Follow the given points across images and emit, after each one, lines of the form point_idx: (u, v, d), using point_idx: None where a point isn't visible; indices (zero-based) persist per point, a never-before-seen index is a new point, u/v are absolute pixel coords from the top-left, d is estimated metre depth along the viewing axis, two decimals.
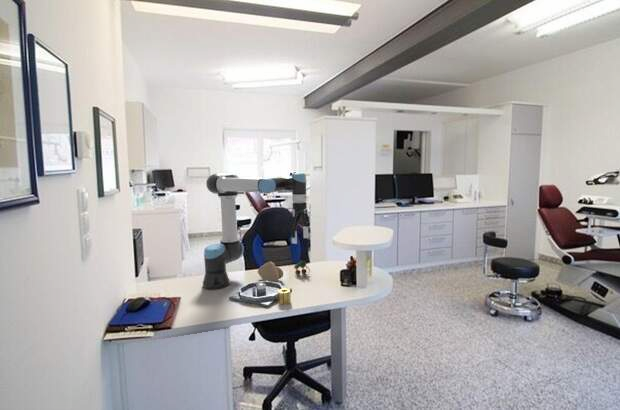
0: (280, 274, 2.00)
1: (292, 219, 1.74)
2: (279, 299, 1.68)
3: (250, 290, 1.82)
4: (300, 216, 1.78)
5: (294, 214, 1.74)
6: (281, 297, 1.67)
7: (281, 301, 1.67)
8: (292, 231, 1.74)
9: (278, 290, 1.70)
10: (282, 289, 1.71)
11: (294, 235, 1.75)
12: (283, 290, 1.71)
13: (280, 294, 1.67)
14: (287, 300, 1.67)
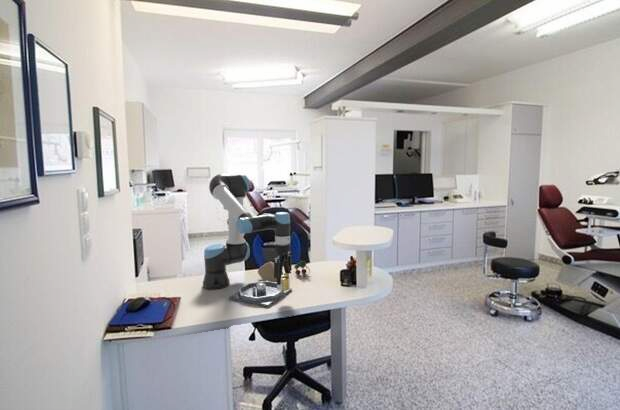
0: None
1: (275, 266, 1.62)
2: None
3: (250, 290, 1.82)
4: (283, 260, 1.65)
5: (276, 261, 1.61)
6: None
7: None
8: (277, 278, 1.64)
9: None
10: None
11: (279, 282, 1.65)
12: (282, 276, 1.70)
13: None
14: (286, 286, 1.67)
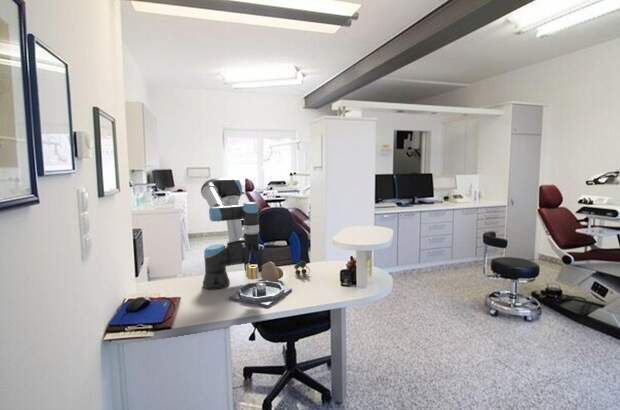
0: (280, 274, 2.00)
1: None
2: None
3: (250, 290, 1.82)
4: (247, 248, 1.70)
5: None
6: None
7: None
8: None
9: None
10: (256, 265, 1.72)
11: (245, 267, 1.73)
12: None
13: None
14: (247, 275, 1.70)
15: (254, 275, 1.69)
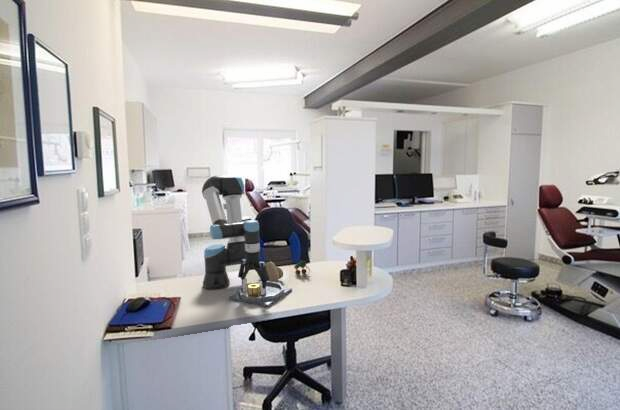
0: (280, 274, 2.00)
1: None
2: None
3: None
4: (247, 265, 1.71)
5: None
6: None
7: None
8: None
9: None
10: (257, 285, 1.74)
11: (242, 282, 1.75)
12: None
13: None
14: (248, 294, 1.72)
15: (255, 295, 1.71)
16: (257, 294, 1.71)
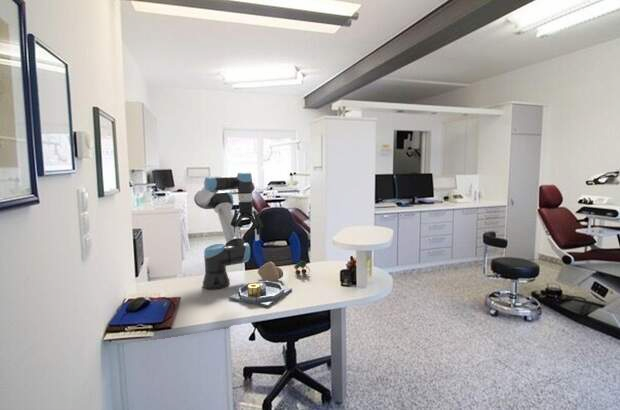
0: (280, 274, 2.00)
1: None
2: None
3: None
4: (240, 214, 1.82)
5: None
6: None
7: None
8: None
9: None
10: (257, 285, 1.74)
11: (234, 230, 1.87)
12: None
13: None
14: (248, 294, 1.72)
15: (255, 295, 1.71)
16: (257, 294, 1.71)
